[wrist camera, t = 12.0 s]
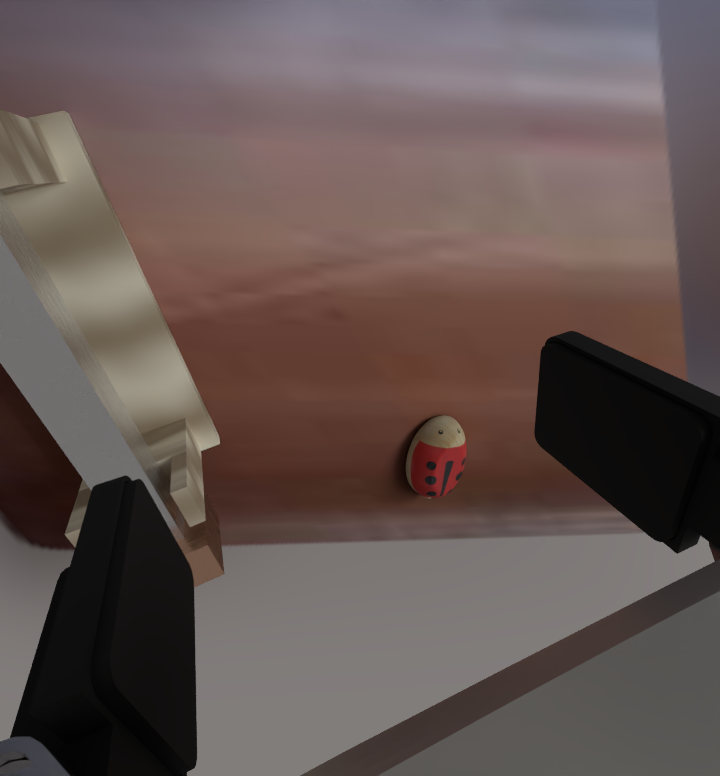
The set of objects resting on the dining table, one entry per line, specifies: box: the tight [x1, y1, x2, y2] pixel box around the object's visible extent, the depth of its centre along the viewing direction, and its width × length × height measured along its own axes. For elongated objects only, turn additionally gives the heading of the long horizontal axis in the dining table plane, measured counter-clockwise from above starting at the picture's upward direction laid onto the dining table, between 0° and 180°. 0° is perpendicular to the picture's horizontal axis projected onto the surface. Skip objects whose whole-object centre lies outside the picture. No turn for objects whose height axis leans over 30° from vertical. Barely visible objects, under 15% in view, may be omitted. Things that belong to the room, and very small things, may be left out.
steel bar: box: [0, 191, 224, 587], centre depth 23 cm, size 32×6×6 cm, turn 13°
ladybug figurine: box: [406, 416, 466, 499], centre depth 45 cm, size 7×10×4 cm
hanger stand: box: [0, 109, 220, 547], centre depth 25 cm, size 24×10×10 cm, turn 13°
